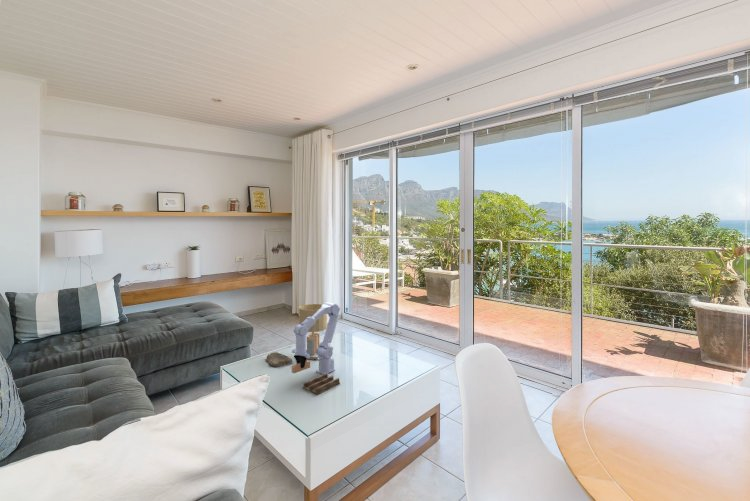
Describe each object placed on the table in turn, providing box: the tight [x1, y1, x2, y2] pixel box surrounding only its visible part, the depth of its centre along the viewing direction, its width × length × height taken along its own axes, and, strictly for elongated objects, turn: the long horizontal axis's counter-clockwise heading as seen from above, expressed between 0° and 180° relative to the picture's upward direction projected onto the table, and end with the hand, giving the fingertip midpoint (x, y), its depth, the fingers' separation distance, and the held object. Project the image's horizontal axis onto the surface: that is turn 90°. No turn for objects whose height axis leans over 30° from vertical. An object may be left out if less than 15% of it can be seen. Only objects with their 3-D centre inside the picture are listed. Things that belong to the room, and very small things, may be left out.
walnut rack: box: [302, 373, 341, 396], centre depth 203 cm, size 18×12×3 cm, turn 141°
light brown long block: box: [291, 359, 311, 374], centre depth 210 cm, size 12×2×4 cm, turn 141°
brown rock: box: [265, 351, 293, 368], centre depth 239 cm, size 14×5×20 cm
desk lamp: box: [298, 303, 328, 361], centre depth 249 cm, size 20×20×35 cm
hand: (301, 367), depth 210 cm, fingers closed on light brown long block, 2 cm apart
